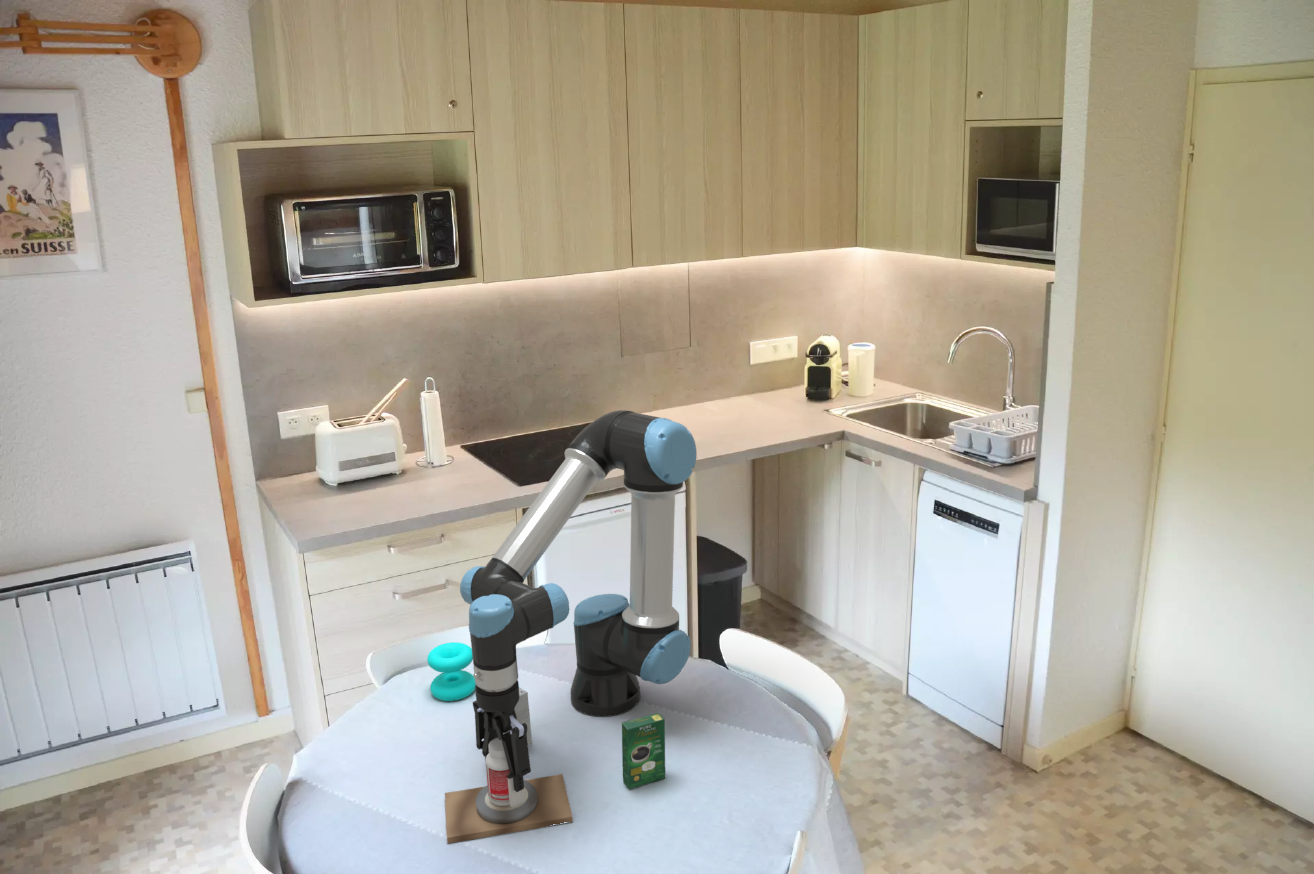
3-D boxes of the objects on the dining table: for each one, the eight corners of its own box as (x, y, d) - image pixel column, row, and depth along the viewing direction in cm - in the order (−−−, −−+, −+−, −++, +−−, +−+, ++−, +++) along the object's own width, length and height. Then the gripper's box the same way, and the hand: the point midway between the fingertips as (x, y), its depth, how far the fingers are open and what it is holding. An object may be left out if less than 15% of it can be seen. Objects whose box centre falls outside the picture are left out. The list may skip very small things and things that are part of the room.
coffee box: (660, 770, 198) (658, 710, 195) (667, 778, 196) (665, 717, 192) (622, 782, 195) (619, 721, 191) (628, 791, 193) (625, 729, 189)
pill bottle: (528, 799, 187) (525, 746, 183) (497, 811, 183) (493, 758, 180) (513, 782, 191) (509, 730, 188) (482, 794, 188) (478, 741, 185)
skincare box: (519, 736, 211) (515, 684, 208) (532, 744, 208) (528, 691, 205) (495, 748, 207) (490, 696, 204) (508, 757, 204) (503, 703, 201)
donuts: (432, 640, 231) (476, 639, 231) (436, 680, 234) (480, 679, 233) (422, 662, 221) (468, 661, 221) (426, 703, 224) (472, 703, 224)
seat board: (562, 779, 197) (561, 766, 196) (572, 822, 184) (571, 808, 184) (445, 798, 192) (443, 785, 191) (447, 843, 180) (445, 829, 179)
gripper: (448, 670, 185) (459, 781, 192) (510, 711, 171) (520, 829, 178) (484, 655, 190) (493, 764, 197) (546, 694, 176) (554, 809, 183)
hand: (506, 794), depth 187 cm, fingers closed on pill bottle, 6 cm apart
